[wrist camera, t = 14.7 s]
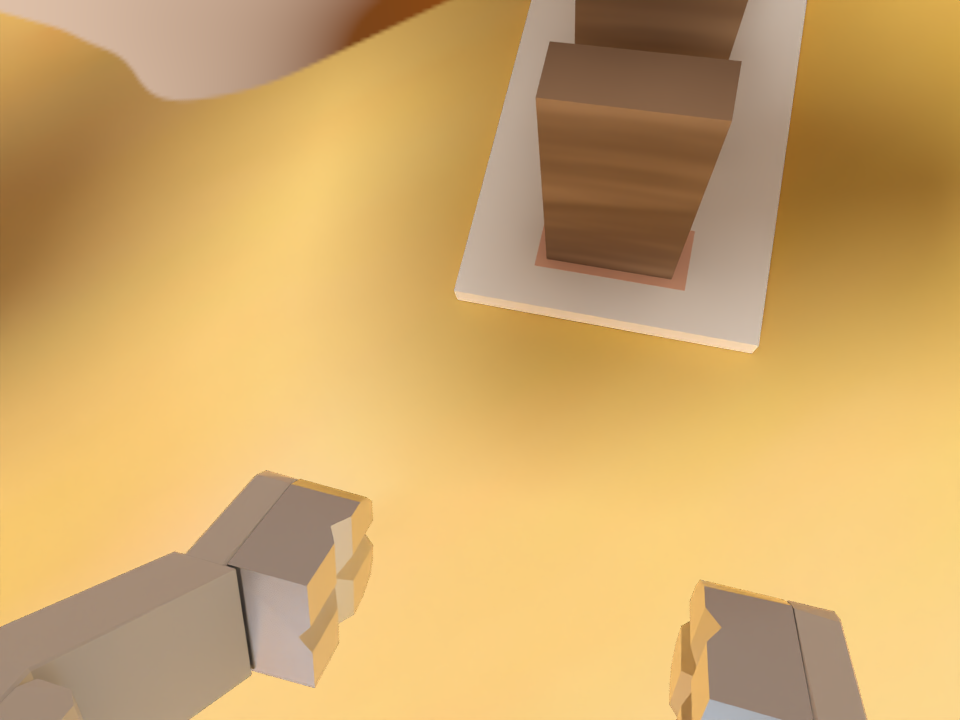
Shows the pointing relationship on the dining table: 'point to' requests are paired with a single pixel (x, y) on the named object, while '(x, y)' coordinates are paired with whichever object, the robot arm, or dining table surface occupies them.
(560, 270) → the board
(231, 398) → the dining table surface
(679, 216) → the domino
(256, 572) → the robot arm
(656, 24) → the domino
